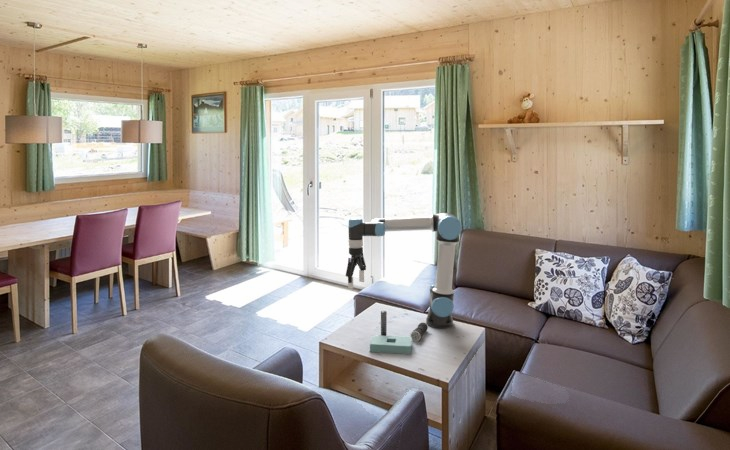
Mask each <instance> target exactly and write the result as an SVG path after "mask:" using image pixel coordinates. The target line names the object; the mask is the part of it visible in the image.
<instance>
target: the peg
mask: <svg viewBox="0 0 730 450" xmlns="http://www.w3.org/2000/svg"><path fill="white" fill-rule="evenodd" d="M387 315H388V313H387V311H386V310H382V311H380V335H381V336H388V335H387V321H388V318H387Z"/></svg>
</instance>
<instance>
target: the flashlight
mask: <svg viewBox="0 0 730 450" xmlns="http://www.w3.org/2000/svg"><path fill="white" fill-rule="evenodd" d="M428 326H429V325H427V323H426V322H419V324H418V325H417V327H416V328H415V329H414V330H412V331H411V333H410V336H409V337H412V341H413V342H419V341H420V340H421V339H422V337H423V335H424V334H425V333H426V332H427V330H428V328H429V327H428Z"/></svg>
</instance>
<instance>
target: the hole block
mask: <svg viewBox="0 0 730 450" xmlns="http://www.w3.org/2000/svg"><path fill="white" fill-rule="evenodd" d="M412 341H413V340H412V337H411V336H400V335H398V336H397V335H387V336H381V334H380V335H376V334H375V335H374V334H373V335H371V340H370V344H369V352H370V353H383V354H384V353H388V354H400V355H401V354H404V355H411V354H412V344H413V343H412Z"/></svg>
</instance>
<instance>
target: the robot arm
mask: <svg viewBox="0 0 730 450" xmlns="http://www.w3.org/2000/svg"><path fill="white" fill-rule="evenodd" d="M461 223H462V222H461V221H460V219H459V218H458V217H457V216H456V215H455V214H453V213H451V212H442V213H434V214H431V215H429V216H427V215H426V216H408V217H407V216H403V217H385V218H380V217H374V218H372V219H371V220H370V221H363V218H361V217H351V218H349V220H348V241H347V242H348V254H349V255H350V256H351V257H348V260H347V267H346V271H345V277H347V287H348V289H351V290H353V289H354V276H353V275H354V272H355V269H356V266H357V267H358V268H359V270H358V271H359V272H358V274H359V277H358V278H359V279H358V281H359V282H361V283H364V282H365V271H366V270H367V266H366V261H365V258H364V248H363V247H364V240H363V239H364V238H363V237H384V236H385V234H386V232H403V231H405V232H407V231H408V232H409V231H410V232H411V231H432V232H436V241H437V242H438V243H439V244H438V251H437V252H438V253H437V264H436V277H435V283H433V284H430V285H429V286H430V287H429V310H428V313H427V315H426V316H427V317H426V320H425V321H426V322H425V323H426V324H427V326H430V327H431V328H435V329H446V328H447V329H448V328H451V327H452V326H453V325H454V320H453V316H452V313H453V311H454V309H455V304H454V299H455V298H454V297H455V296H454V295H455V290H454V289H453V288H452V287H453V276H454V266H455V255H456V245H457V244H458V243H460V234H461V232H462V224H461Z"/></svg>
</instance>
